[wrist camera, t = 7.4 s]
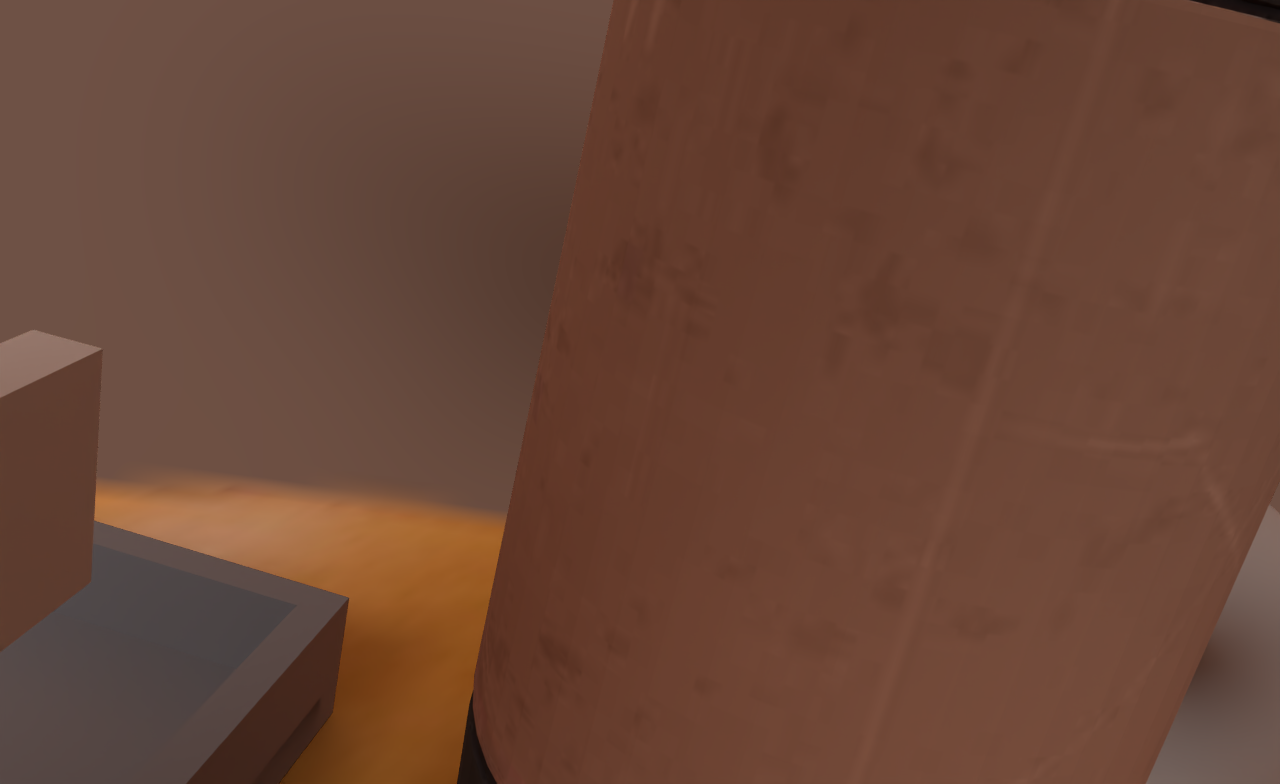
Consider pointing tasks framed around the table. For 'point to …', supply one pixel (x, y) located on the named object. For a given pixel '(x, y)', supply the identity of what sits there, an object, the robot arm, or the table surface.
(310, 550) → the table surface
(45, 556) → the robot arm
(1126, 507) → the travel mug
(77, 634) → the tray
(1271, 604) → the donut
